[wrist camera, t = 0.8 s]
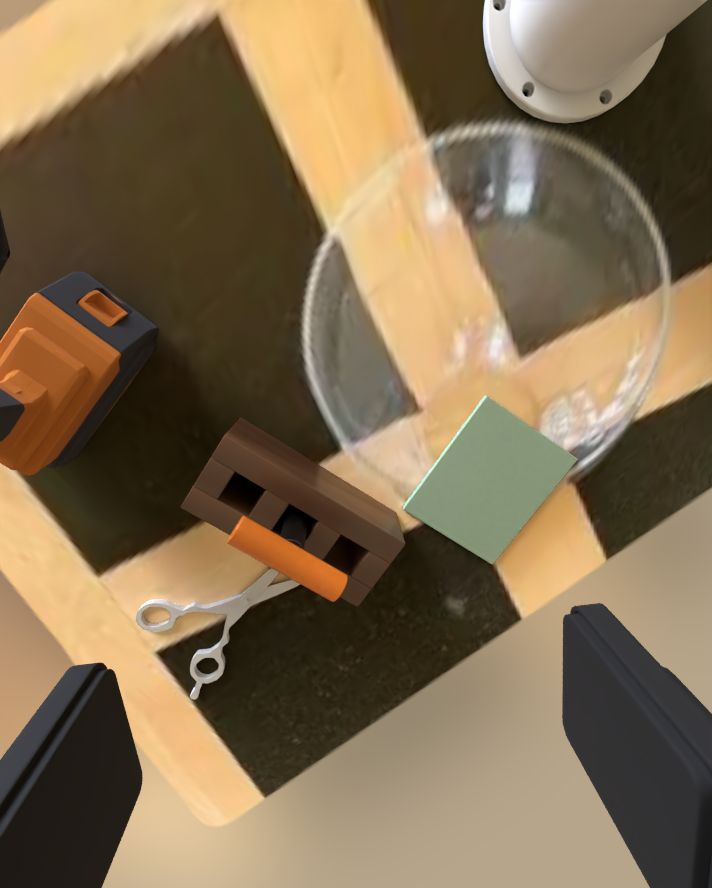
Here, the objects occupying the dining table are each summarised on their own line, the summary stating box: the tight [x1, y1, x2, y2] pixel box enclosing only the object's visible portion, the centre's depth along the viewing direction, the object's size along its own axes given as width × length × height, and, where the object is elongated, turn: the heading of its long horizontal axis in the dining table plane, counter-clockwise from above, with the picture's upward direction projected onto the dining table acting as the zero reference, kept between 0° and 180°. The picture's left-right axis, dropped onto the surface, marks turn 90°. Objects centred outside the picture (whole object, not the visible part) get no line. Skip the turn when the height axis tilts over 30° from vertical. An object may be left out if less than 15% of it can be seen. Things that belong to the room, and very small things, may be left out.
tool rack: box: [181, 417, 405, 607], centre depth 40 cm, size 7×16×6 cm, turn 56°
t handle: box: [227, 504, 348, 602], centre depth 37 cm, size 2×8×12 cm, turn 56°
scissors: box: [136, 568, 300, 700], centre depth 45 cm, size 11×1×20 cm
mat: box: [403, 395, 578, 565], centre depth 42 cm, size 12×10×1 cm
